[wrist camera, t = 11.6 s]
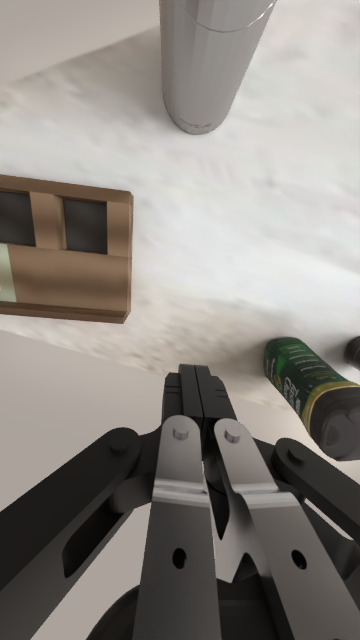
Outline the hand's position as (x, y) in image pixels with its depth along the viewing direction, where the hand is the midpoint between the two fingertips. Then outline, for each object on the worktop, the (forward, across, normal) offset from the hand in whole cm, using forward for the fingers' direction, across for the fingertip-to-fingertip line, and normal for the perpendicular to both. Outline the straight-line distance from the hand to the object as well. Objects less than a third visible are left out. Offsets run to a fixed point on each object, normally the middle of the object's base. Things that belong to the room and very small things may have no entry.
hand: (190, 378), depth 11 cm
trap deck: (+26, +20, -4) cm, 33 cm away
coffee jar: (+26, -22, +12) cm, 36 cm away
